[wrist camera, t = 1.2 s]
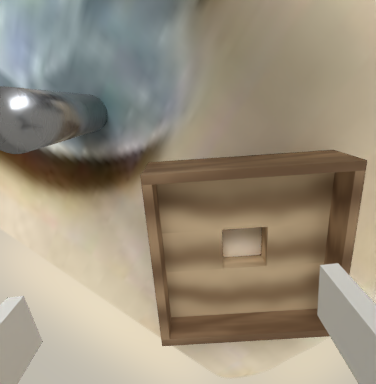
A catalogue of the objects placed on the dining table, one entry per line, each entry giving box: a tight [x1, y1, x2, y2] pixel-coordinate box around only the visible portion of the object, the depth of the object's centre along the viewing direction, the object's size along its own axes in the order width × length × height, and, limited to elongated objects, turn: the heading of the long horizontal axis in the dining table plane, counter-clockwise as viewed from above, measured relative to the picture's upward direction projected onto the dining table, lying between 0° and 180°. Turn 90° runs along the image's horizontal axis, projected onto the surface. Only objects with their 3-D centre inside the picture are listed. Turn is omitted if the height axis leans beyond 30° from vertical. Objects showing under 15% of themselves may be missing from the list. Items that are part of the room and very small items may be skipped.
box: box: [140, 150, 367, 346], centre depth 32 cm, size 22×22×6 cm
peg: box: [0, 87, 107, 154], centre depth 23 cm, size 4×4×14 cm
